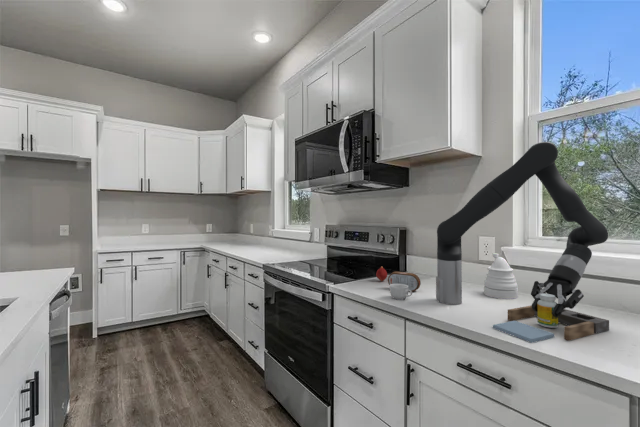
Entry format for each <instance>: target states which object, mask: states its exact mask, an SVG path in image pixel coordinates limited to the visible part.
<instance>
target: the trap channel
mask: <svg viewBox="0 0 640 427" xmlns="http://www.w3.org/2000/svg"><path fill="white" fill-rule="evenodd" d="M533 317H534V318H535V317H538V314H537V312H536V311H534V310H533V309H532V305H526V306H520V307H515V308H509V309H507V321H508V322H510V321H518V320H523V319H529V318H533ZM558 324H562V325H565V326H564V327H563V329H564V330H563V339H564V340H566V341H569V342H570V341H574V340H577V339H581V338H585V337H588V336H592V335H596V334H599V333H603V332H607V331H610V319H605V318H601V317H597V316H595V315H594V316H593V315H590V314H586V313H581V312H579V311H578V312H577V311H574V310H572V309H571V310H570V309H568V308H565V309H564V310H563V312H562V313H561V315H560V316H558Z"/></svg>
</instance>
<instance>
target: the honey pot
mask: <svg viewBox="0 0 640 427" xmlns="http://www.w3.org/2000/svg"><path fill="white" fill-rule="evenodd" d="M492 257H493V258H494V260H493V262H492V263H491V265H490V266H487V268H486V270H487V271H488V272H487V273H486V277H485V280H484V281H483V285H484V286H483V293H484V295H485V296H488V297H490V298H496V299H502V300H514V299H518V298H519V290H518V289H519V288H518V286H519V285H518V283H517V280H516V276H515V275H514V273H513V272H514V269H513V268H512V267H511V266H510V264H509V263H508V261H507V260H506V259H505V258H504V257H502V256H500V253H495V252H494V253H492Z"/></svg>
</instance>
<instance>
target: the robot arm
mask: <svg viewBox="0 0 640 427" xmlns="http://www.w3.org/2000/svg"><path fill="white" fill-rule="evenodd" d="M558 155H559V150H558V147H557V146H556V145H555V144H554V143H553V142H549V141H542V142H538V143H535V144H533V145H532V146H531V147H530V148H529V149H528V150H527V151H526V152H525V153H524V154H523V155H522V156H521V157H520V158H518V159H517V161H516V162H515V163H514V164H512V165H511V166H510V167H509V168H508V169H506V170H505V171H503V172H502V173H501V174H499V175H497V176H496V177H494V178H493V179H492V180H491V181H490V182H488V183H487V184H486V185H485V186H483V187H482V188H481V189H480V190H479V191H477V193H475V195H474V196H472V198H471V199H469V201H468V202H466V204H465V205H464V206H463V207H462V208H461V209H460V210H458V212H456V213H454V214H453V215H452V216H450V217H449V218H447V219H445V220H444V221H442V222H440V223H439V224H438V226H437V228H436V235H437V236H436V237H437V241H436V243H437V246H436V248H437V250H436V252H437V254H436V258H437V259H436V260H437V261H436V262H437V263H436V264H437V265H436V266H437V267H436V268H437V269H436V270H437V274H436V276H435V299H436V301H437V302H438V303H440V304H447V305H460V304H462V303H463V294H462V293H463V290H462V289H463V287H462V286H463V284H462V282H463V277H462V276H463V275H462V274H463V271H462V270H463V269H462V268H463V266H462V265H463V263H462V262H463V260H462V259H463V258H462V257H463V255H462V254H463V253H462V237H463V235H464V234H465V233H466V232H468V231H469V229H471V228H472V227H473V226H474V225H475V224H476V223H478V222H479V221H481V220H483V219H484V218H485V217H488V216H489V215H491V213H493V212H494V211H495V210H498V208H500V207H501V206H502V205H503V204H504V203H506V202H507V201H508V200H509V199H511V198H512V196H514V195H515V194H516V192H518V191H519V190H520V188H522V186H524V184H526V182H527V181H529V179H531V178H532V177H534V176H536V177H537V178H538V180H539V181H540V182H541V183H542V185H543V187H544V188H545V189H546V191H547V192H548V194H549V195H550V197H551V199H552V201H553V202H554V204H555V206H556V208H557V209H558V211H559V212H560V214H561V216H562V218H563V219H564V221H565V222H567V223H572V222H573V223H577V225H579V226H578V227H575V228H573V229H572V230H571V231H570V232H569V233H568V235H567V240H566V248H565V249H564V251H563V253H562V254H561V256H560V257H559V258H558V259H557V261H556V262H555V264H554V266H553V267H552V270H551V271H550V273H549V275H548V276H547V280H546V281H544V282H539V280H536V281H534V283H533V285H532V289H531V292H530V295H531V297H532V298H533V299H534V300H533V301H532V303H531V306H532V309H533V310H534V311H536V312H537V302H538V301H539V300H541V299H540V294H552V295H555V298H556V299H557V300H558V303H557V304H556V306H555V307H554V309H553V311H552V315H553V316H554V317H558V316H560V315H561V313H562V312H563V310H564V309H569V310H570V309H571V310H572V309H574V308H575V307H576V306H577V304H578V303H579V302H580V301H581V300H582V299H583V298H584V297H585V296H584V293H583V292H582V291H581V290H580V289H576V288H577V286H578V284H579V282H580V281H581V279H582V277H583V275H584V274H585V270H586V268H587V266H588V264H589V263H590V261H591V259H592V255H593V253H592V250H591V249H590V248H589V247H591V246H595V245H598V244H600V245H601V244H603V243H605V242H607V240H608V238H609V231H608V229H607V227H606V226H605V225H604V223H602V222H601V221H600V220H599V219H598V218H597V217H596V216H594V214H592V212H590V210H588V209H587V207H586V206H585V204H584V202H583V201H582V198H581V197H580V196H579V194H578V193H577V192H576V190H574V188H573V187H572V186H570V184H569V183H568V182H566V180H565V179H564V178H563V176H562V175H561V173H560V171H559V169H558V167H557V166H556V163H555V162H556V160H557V158H558ZM568 296H569V297H568Z"/></svg>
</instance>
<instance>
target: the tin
mask: <svg viewBox="0 0 640 427" xmlns="http://www.w3.org/2000/svg"><path fill="white" fill-rule="evenodd" d="M387 277H388V278H387V282H388V285H389V286H390V284H404V285H408V290H411V291H412V292H416V291H417V290H418V289H420V286H421V284H422V283H421V279H420V277H419V276H418V275H417V274H416V273H413V272H404V271H396V270H395V271H392V272H391V273H390V274H389V275H388V276H387Z"/></svg>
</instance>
